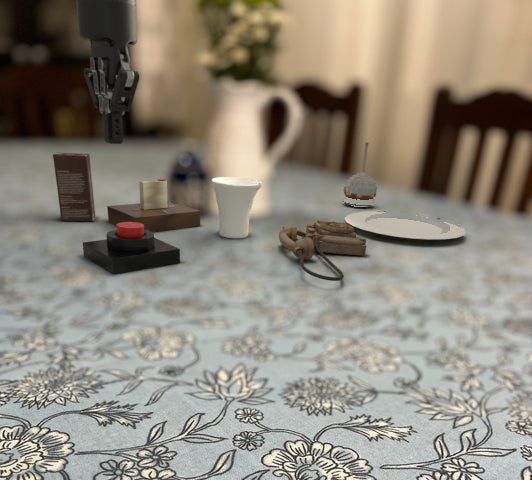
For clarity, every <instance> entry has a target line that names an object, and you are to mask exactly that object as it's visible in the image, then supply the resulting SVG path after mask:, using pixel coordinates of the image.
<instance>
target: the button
mask: <svg viewBox="0 0 532 480" xmlns="http://www.w3.org/2000/svg"><path fill="white" fill-rule="evenodd" d="M115 229H116V230H117V236H118V237H124V238H136V237H143V236H144V225H143V224H141V223H138V222H122V223H118V224H116V225H115Z"/></svg>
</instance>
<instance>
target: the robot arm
mask: <svg viewBox="0 0 532 480" xmlns="http://www.w3.org/2000/svg"><path fill="white" fill-rule="evenodd" d="M75 1H76V2H75V3H76V15H77V16H76V17H77V28H78V29H77V31H78V37H79V38H80V39H81V40H82V41H83V40H84V41H87V42H88V41H89V42H90V55H89V57H90V59H89V65H90V68H88V67H84V69H83V76H84V78H85V79H84V80H85V81H86V85H87V87H88V91H89V93H90V96H91V99H92V102H93V106H94V107H95V109H99V113H100V114H102V122H103V123H102V125H103V139H104V142H105V143H108V144H111V145H112V144H113V145H122V144H123V143H124V136H123V135H124V134H123V133H124V132H123V116H124V115H125V112H130V111H131V107H132V104H133V101H134V98H135V95H136V92H137V88H138V84H139V82H140V72H139V71H138V70H132V69H131V66H130V61H131V59H130V53H129V48H128V46H134V45H136V44H137V43H138V17H137V15H138V13H137V0H75ZM111 88H112V89H111Z"/></svg>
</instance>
